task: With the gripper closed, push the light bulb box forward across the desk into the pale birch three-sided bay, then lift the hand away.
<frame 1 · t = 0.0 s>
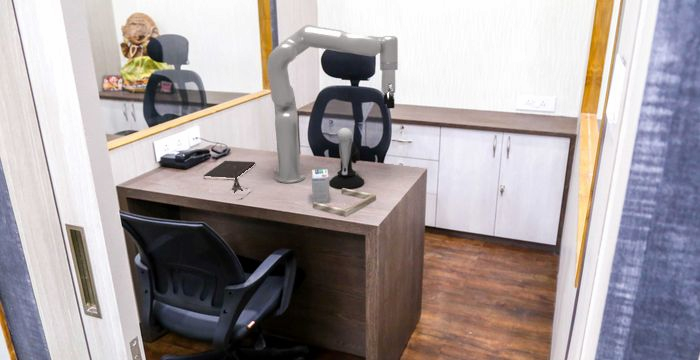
hand: (389, 106, 227), 31 cm above the table, tool pointing down, fingers open, 9 cm apart
light bulb box: (321, 198, 211), on the table
bay: (344, 203, 204), on the table
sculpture: (349, 180, 231), on the table
hardcover book: (230, 173, 248), on the table
eiffel tower figurine: (238, 194, 220), on the table
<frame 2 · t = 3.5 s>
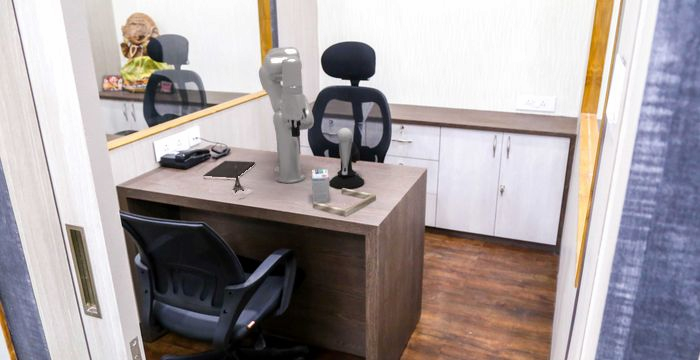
hand: (296, 136, 209), 24 cm above the table, tool pointing down, fingers closed
nothing on the table moved.
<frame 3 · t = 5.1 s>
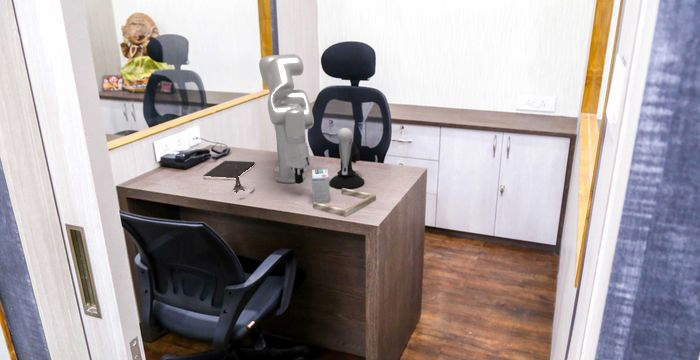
hand: (299, 182, 215), 5 cm above the table, tool pointing down, fingers closed
nothing on the table moved.
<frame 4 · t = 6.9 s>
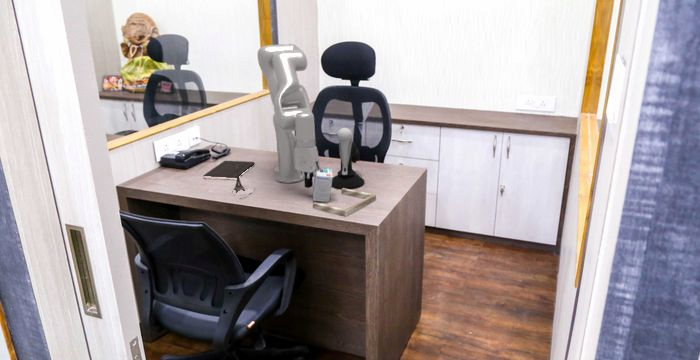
hand: (308, 186, 213), 4 cm above the table, tool pointing down, fingers closed
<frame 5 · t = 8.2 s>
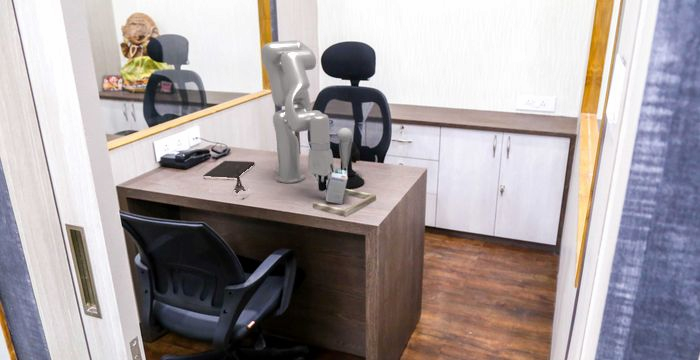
hand: (322, 190, 209), 4 cm above the table, tool pointing down, fingers closed
light bulb box: (333, 198, 208), point 1 cm above the table, touching gripper
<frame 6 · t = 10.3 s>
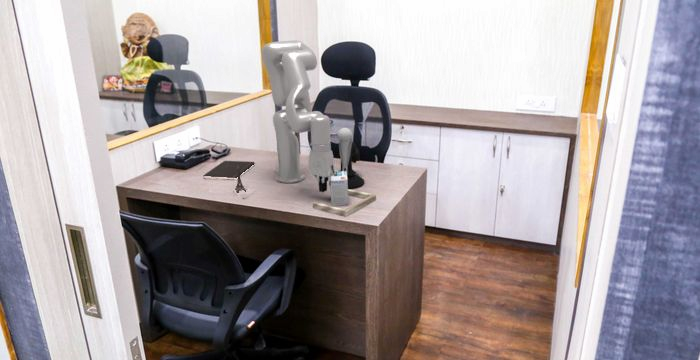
hand: (323, 190, 209), 3 cm above the table, tool pointing down, fingers closed
light bulb box: (339, 201, 208), on the table, touching gripper
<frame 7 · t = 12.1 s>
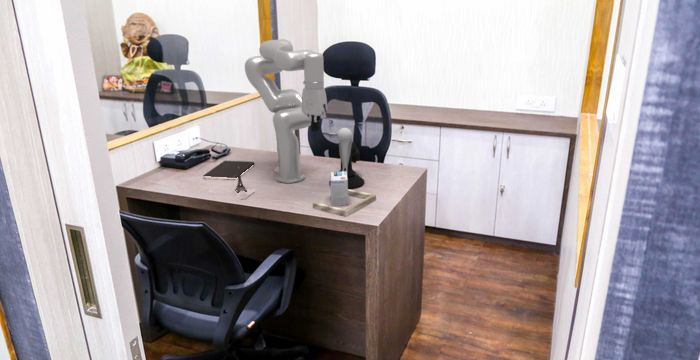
hand: (315, 130, 209), 26 cm above the table, tool pointing down, fingers closed
light bulb box: (339, 201, 208), on the table
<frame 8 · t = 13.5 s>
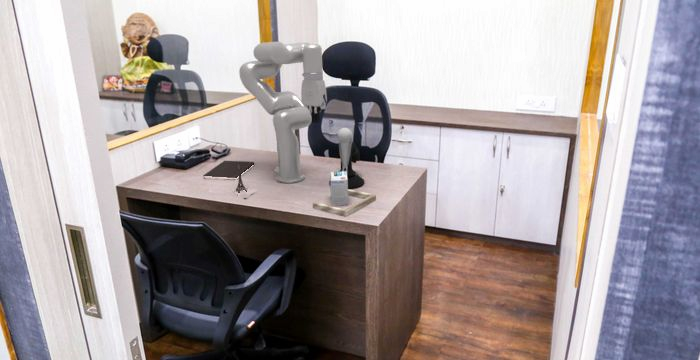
hand: (315, 122, 211), 29 cm above the table, tool pointing down, fingers closed
at the end: light bulb box inside the target area (4.4 cm from its centre), on the table; light bulb box tilted 0°; light bulb box moved 8.4 cm from its start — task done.
